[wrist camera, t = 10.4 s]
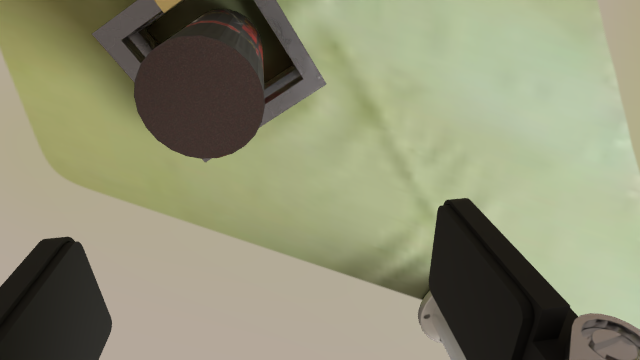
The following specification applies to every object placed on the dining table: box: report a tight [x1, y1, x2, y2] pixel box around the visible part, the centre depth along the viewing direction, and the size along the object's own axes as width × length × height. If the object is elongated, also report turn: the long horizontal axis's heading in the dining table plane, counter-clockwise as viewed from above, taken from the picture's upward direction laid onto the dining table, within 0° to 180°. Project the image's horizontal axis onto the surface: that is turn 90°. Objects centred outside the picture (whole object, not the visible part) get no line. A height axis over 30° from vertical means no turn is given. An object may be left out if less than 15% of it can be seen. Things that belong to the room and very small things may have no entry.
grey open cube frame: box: [92, 0, 326, 162], centre depth 28 cm, size 11×11×7 cm
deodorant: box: [134, 9, 265, 159], centre depth 25 cm, size 6×6×15 cm
